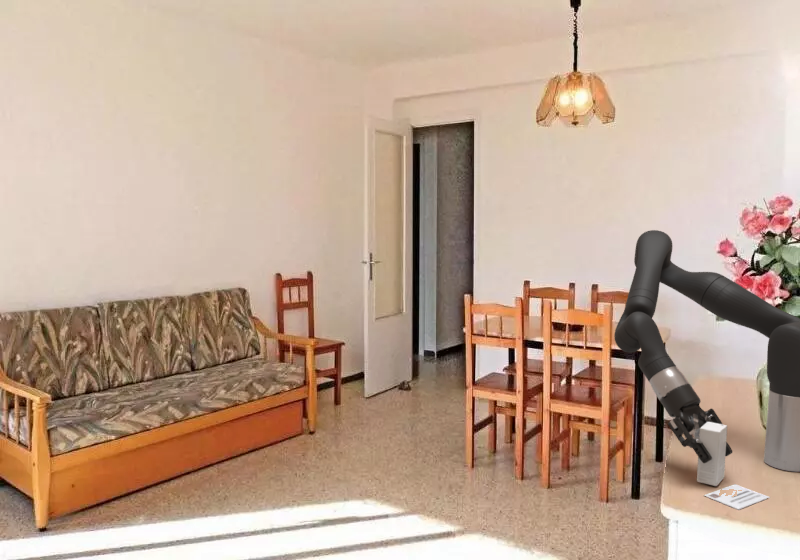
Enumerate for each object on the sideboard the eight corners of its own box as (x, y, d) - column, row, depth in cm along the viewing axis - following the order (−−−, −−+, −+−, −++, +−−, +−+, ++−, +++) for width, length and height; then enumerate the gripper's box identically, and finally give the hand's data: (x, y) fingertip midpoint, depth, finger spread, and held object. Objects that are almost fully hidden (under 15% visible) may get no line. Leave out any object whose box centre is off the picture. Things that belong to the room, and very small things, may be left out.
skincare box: (703, 473, 151) (707, 420, 150) (724, 478, 149) (728, 425, 147) (695, 481, 147) (699, 427, 145) (716, 487, 144) (720, 432, 143)
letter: (735, 484, 146) (735, 484, 146) (769, 497, 140) (769, 496, 140) (703, 496, 140) (703, 495, 140) (738, 510, 134) (738, 509, 134)
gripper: (682, 395, 161) (726, 459, 152) (642, 404, 153) (685, 472, 144) (704, 378, 156) (750, 444, 147) (664, 386, 148) (710, 456, 139)
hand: (718, 457), depth 146 cm, fingers closed on skincare box, 7 cm apart
